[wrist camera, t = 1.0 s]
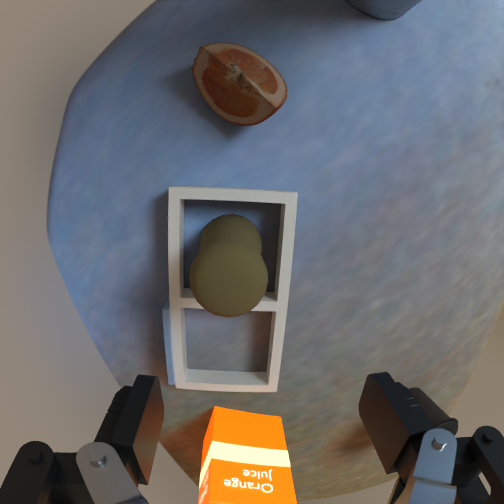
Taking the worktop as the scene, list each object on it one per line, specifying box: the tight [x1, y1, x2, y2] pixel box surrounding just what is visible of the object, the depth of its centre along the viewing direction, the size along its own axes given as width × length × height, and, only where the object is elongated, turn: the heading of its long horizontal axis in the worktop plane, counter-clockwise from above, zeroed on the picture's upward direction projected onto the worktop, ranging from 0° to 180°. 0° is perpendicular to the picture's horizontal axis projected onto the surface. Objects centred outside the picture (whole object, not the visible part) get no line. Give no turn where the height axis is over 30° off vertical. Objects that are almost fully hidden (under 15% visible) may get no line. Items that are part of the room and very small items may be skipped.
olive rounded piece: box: [189, 214, 268, 317], centre depth 24 cm, size 6×6×11 cm
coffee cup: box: [409, 388, 458, 436], centre depth 31 cm, size 8×8×10 cm
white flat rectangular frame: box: [162, 186, 298, 392], centre depth 29 cm, size 21×12×3 cm, turn 177°
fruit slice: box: [192, 42, 287, 126], centre depth 23 cm, size 8×7×5 cm
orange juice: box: [198, 406, 297, 504], centre depth 26 cm, size 8×9×20 cm
